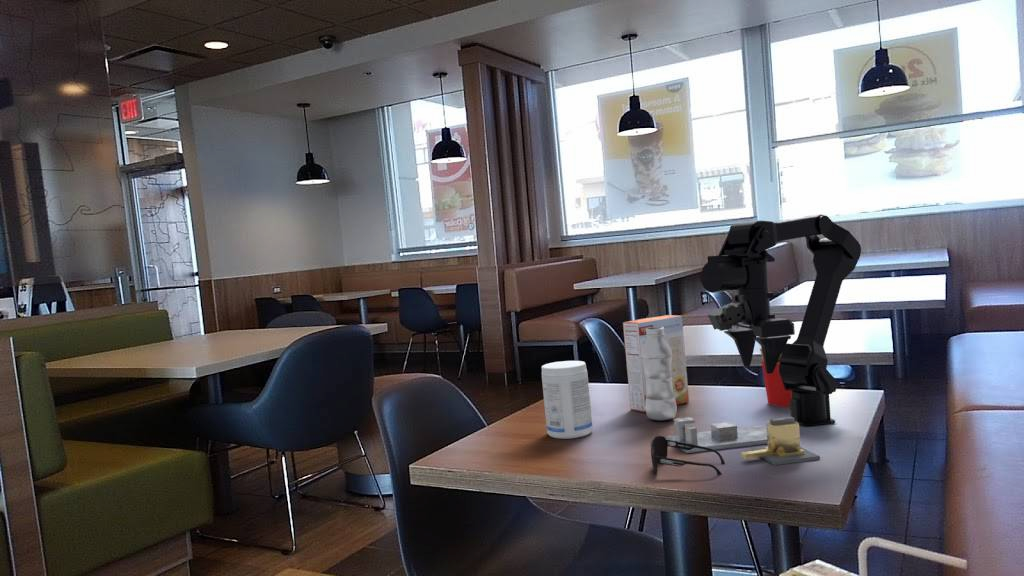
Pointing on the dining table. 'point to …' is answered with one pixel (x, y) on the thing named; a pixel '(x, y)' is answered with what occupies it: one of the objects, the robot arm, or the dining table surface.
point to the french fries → (776, 387)
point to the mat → (791, 457)
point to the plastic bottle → (658, 376)
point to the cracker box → (635, 368)
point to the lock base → (729, 443)
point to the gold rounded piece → (779, 439)
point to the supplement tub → (566, 399)
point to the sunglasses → (661, 447)
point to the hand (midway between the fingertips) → (757, 369)
